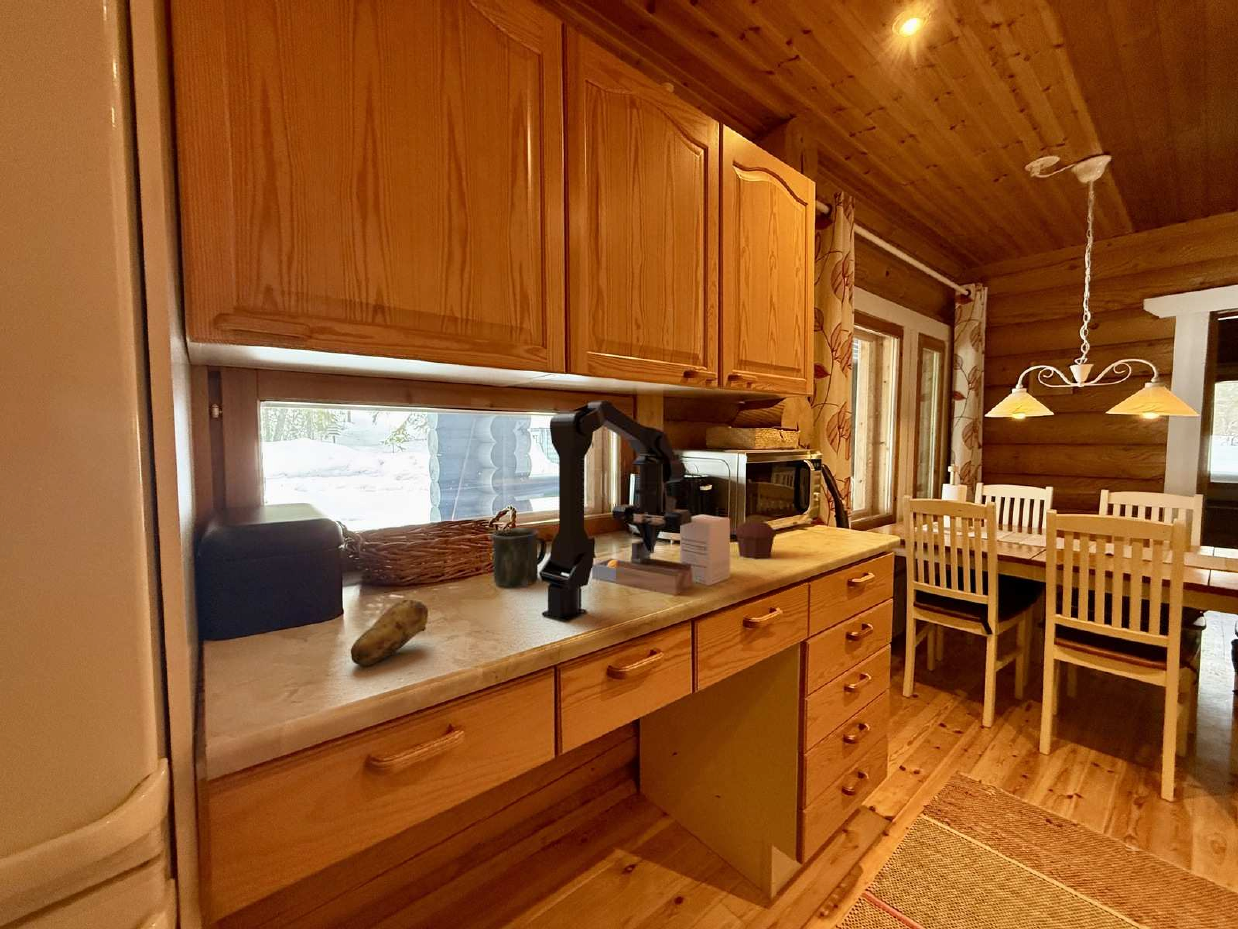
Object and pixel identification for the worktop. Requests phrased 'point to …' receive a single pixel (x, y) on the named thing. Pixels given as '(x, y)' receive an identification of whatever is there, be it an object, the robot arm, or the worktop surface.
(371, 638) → the potato
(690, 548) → the supplement box
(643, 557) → the dark grey upright block
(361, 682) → the worktop surface
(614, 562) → the ball
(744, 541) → the muffin
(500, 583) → the mug
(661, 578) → the launcher track
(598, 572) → the flat blue-grey box
